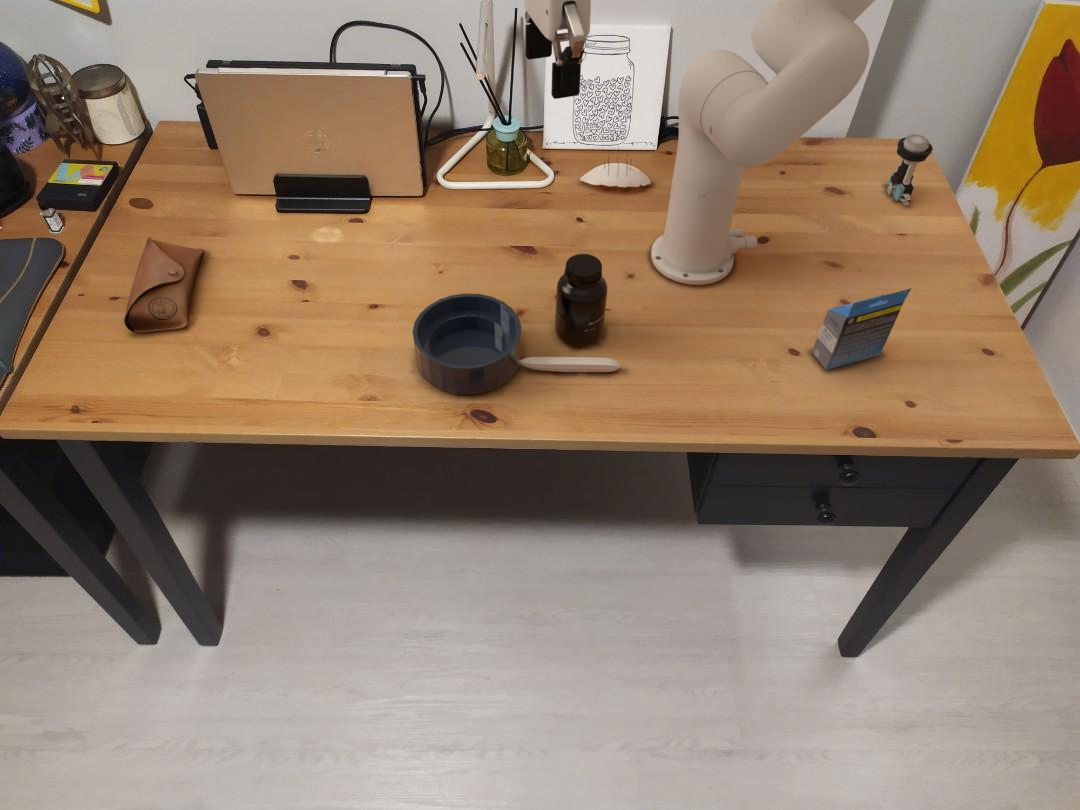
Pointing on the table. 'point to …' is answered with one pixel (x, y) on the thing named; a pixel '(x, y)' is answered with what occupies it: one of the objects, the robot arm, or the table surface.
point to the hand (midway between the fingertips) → (551, 76)
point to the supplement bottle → (581, 301)
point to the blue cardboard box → (857, 329)
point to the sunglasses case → (162, 288)
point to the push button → (908, 165)
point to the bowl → (467, 343)
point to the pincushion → (616, 175)
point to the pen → (571, 364)
